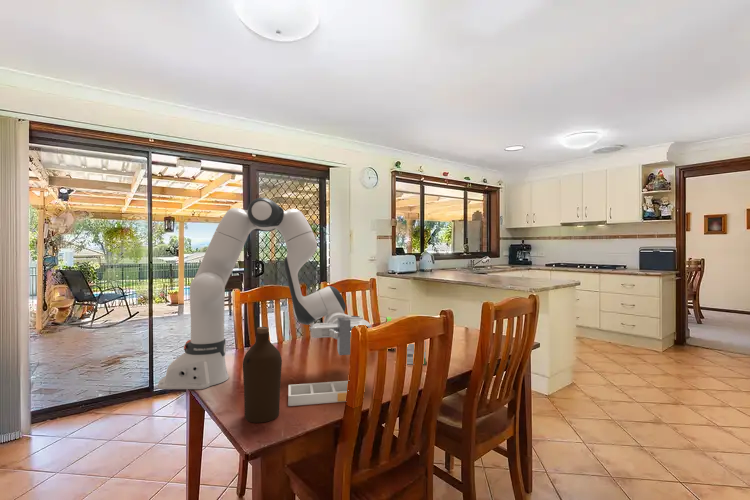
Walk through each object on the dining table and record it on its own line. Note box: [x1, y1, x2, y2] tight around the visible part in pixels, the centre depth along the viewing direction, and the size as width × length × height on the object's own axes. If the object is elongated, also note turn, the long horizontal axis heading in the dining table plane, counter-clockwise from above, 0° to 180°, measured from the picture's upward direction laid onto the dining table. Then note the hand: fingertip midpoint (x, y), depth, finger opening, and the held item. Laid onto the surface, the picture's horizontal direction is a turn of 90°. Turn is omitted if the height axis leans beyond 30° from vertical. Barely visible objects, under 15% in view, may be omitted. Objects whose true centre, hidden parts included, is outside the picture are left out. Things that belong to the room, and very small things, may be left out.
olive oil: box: [242, 326, 283, 424], centre depth 107 cm, size 11×11×25 cm
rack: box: [287, 380, 349, 407], centre depth 120 cm, size 21×10×3 cm, turn 103°
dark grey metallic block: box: [336, 317, 351, 356], centre depth 122 cm, size 4×5×11 cm
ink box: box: [406, 340, 427, 365], centre depth 158 cm, size 8×5×12 cm, turn 88°
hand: (344, 334), depth 121 cm, fingers closed on dark grey metallic block, 3 cm apart
